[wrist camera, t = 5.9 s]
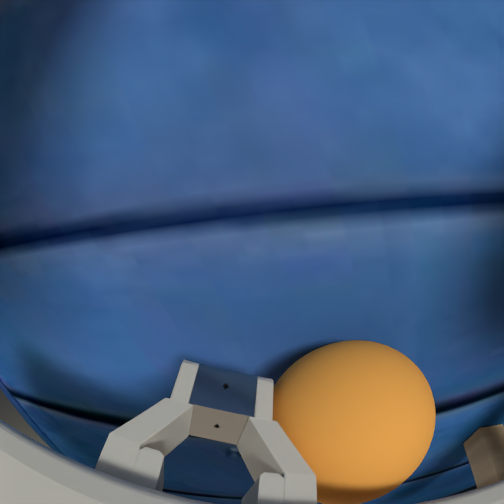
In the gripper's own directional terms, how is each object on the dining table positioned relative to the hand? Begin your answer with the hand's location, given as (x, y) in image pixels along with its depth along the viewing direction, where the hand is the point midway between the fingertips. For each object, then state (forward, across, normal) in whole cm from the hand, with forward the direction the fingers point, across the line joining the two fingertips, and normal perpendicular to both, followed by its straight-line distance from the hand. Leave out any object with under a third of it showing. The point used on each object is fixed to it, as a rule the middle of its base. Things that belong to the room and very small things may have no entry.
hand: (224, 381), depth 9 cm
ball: (-1, -4, 0) cm, 4 cm away
